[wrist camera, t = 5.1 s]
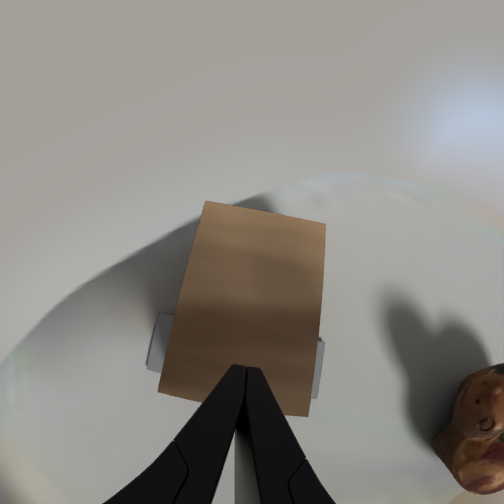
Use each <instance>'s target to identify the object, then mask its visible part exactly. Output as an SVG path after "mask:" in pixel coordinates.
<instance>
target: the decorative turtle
mask: <svg viewBox="0 0 504 504" xmlns="http://www.w3.org/2000/svg"><path fill="white" fill-rule="evenodd" d="M433 449H434V451H435V453H436V454H437V455H438V457H439V458H440V459H441V460H442V461H443V463H444V464H445V465H446V467H447V468H448V469H449V471H450V472H451V473H452V475H453V476H454V478H455V479H456V481H457V482H458V483H459V484H460V485H461V487H463V488H464V489H465V490H467V491H469V492H472V493H474V494H481V495H486V494H492V493H495V492H498V491H501V490H503V489H504V363H502V364H497V365H494V366H490V367H487V368H485V369H482V370H480V371H477V372H475V373H473V374H471V375H469V376H468V377H467V378H466V379H465V380H464V381H463V382H462V385H461V392H460V393H459V395H458V397H457V399H456V403H455V406H454V412H453V419H452V421H451V422H450V423H449V424H448V425H447V426H446V427H445V428H444V429H442V430H441V431H440V432H439V433H438V434H437V435H436V436H435V438H434V440H433Z"/></svg>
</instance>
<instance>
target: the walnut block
mask: <svg viewBox="0 0 504 504" xmlns="http://www.w3.org/2000/svg"><path fill="white" fill-rule="evenodd" d="M325 234H326V224H324V223H319V222H314V221H310V220H305V219H300V218H295V217H290V216H285V215H280V214H275V213H270V212H265V211H260V210H254V209H249V208H244V207H238V206H233V205H227V204H222V203H216V202H210V201H206V202H205V205H204V208H203V211H202V214H201V218H200V221H199V224H198V228H197V231H196V235H195V238H194V242H193V245H192V249H191V252H190V256H189V260H188V263H187V267H186V271H185V275H184V278H183V282H182V286H181V290H180V294H179V298H178V302H177V306H176V310H175V314H174V318H173V323H172V327H171V331H170V335H169V340H168V344H167V349H166V353H165V358H164V363H163V367H162V372H161V377H160V382H159V387H158V392H160V393H164V394H167V395H171V396H175V397H180V398H184V399H188V400H193V401H197V402H202V403H203V402H204V400H205V399H206V398H207V396H208V395H209V394H210V393H211V391H212V390H213V389H214V387H215V386H216V385H217V383H218V382H219V381H220V379H221V378H222V377H223V375H224V374H225V373H226V371H227V370H228V369H229V367H230V366H231V365H232V364H240V365H245V366H246V368H247V367H248V366H252V367H258V368H260V369H261V370H262V372H263V374H264V376H265V378H266V380H267V382H268V384H269V386H270V388H271V390H272V392H273V394H274V396H275V398H276V400H277V402H278V404H279V406H280V408H281V410H282V412H283V414H284V415H290V416H302V417H308V414H309V407H310V401H311V394H312V387H313V379H314V371H315V363H316V355H317V346H318V336H319V326H320V315H321V303H322V290H323V275H324V257H325Z"/></svg>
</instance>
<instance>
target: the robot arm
mask: <svg viewBox="0 0 504 504" xmlns="http://www.w3.org/2000/svg"><path fill="white" fill-rule="evenodd" d="M234 432H235V504H336V503H335V502H334V501H333V499H332V498H331V497H330V495H329V494H328V492H327V491H326V490H325V488H324V487H323V485H322V484H321V482H320V481H319V479H318V477H317V476H316V474H315V472H314V471H313V469H312V467H311V465H310V463H309V462H308V460H307V459H305V458H306V456H305V454H304V452H303V451H302V449H301V447H300V445H299V443H298V441H297V439H296V437H295V435H294V433H293V431H292V430H291V428H290V426H289V424H288V422H287V420H286V418H285V416H284V414H283V412H282V410H281V408H280V406H279V404H278V402H277V400H276V398H275V396H274V394H273V392H272V390H271V388H270V386H269V384H268V382H267V380H266V378H265V376H264V374H263V372H262V370H261V369H260V368H258V367H252V366H248V367H247V368H246V366H245V365H240V364H232V365H231V366H230V367H229V369H228V370H227V371H226V373H225V374H224V375H223V377H222V378H221V379H220V381H219V382H218V383H217V385H216V386H215V387H214V389H213V390H212V391H211V393H210V394H209V395H208V396H207V398H206V399H205V400H204V402H203V403H202V404H201V405H200V407H199V408H198V409H197V411H196V412H195V413H194V414H193V416H192V417H191V418H190V419H189V421H188V422H187V423H186V424H185V426H184V427H183V428H182V429H181V431H180V432H179V433H178V434H177V436H176V437H175V438H174V440H173V441H171V443H170V444H169V445H168V446H167V447H166V449H165V450H164V451H163V452H162V453H161V454H160V455H159V456H158V458H157V459H156V460H155V461H154V462H153V463H152V464H151V465H150V466H149V467H148V468H146V469H145V470H144V471H143V472H142V473H141V474H140V475H139V476H137V477H136V478H135V479H134V480H133V481H131V482H130V483H129V484H128V485H126V486H125V487H124V488H123V489H121V490H120V491H119V492H118V493H116V494H115V495H114V496H113V497H111V498H110V499H108V500H107V501H106V502H104V503H103V504H212V501H213V498H214V495H215V492H216V489H217V486H218V483H219V480H220V477H221V474H222V471H223V468H224V464H225V461H226V458H227V455H228V452H229V448H230V445H231V442H232V439H233V435H234Z"/></svg>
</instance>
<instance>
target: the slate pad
mask: <svg viewBox="0 0 504 504" xmlns="http://www.w3.org/2000/svg"><path fill="white" fill-rule="evenodd" d="M173 318H174V315H169V314H165V313H161V312H159V313H158V317H157V322H156V326H155V331H154V335H153V340H152V345H151V349H150V354H149V359H148V364H147V369H148V370H152V371H155V372H159V373H161V372H162V367H163V363H164V358H165V353H166V349H167V344H168V340H169V335H170V331H171V327H172V323H173ZM324 347H325V342H321V341H318V346H317V355H316V363H315V371H314V379H313V387H312V394H311V398H314V399H317V395H318V389H319V383H320V376H321V369H322V362H323V355H324Z"/></svg>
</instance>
